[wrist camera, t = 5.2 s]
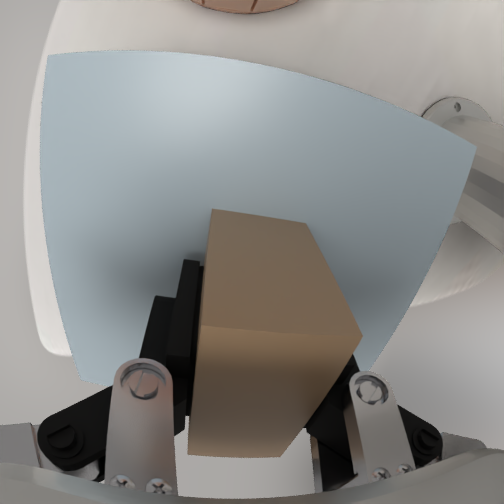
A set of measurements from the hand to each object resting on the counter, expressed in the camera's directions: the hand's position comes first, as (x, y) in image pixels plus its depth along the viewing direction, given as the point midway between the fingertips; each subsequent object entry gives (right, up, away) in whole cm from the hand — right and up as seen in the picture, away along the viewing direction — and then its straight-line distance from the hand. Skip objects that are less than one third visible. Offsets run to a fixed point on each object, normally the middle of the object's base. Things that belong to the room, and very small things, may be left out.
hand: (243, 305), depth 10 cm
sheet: (0, +1, +1) cm, 1 cm away
